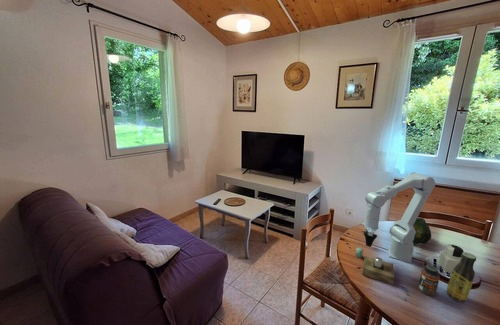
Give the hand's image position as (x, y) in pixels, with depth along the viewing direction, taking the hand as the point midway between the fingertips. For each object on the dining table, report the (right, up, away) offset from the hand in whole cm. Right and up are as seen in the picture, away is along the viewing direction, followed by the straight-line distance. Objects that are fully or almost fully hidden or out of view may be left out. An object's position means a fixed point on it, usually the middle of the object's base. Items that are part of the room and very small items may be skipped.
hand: (368, 242), depth 110 cm
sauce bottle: (+25, -15, -20) cm, 35 cm away
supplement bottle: (+15, -15, -17) cm, 27 cm away
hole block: (0, -12, -7) cm, 14 cm away
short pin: (-3, -9, +5) cm, 11 cm away
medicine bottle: (+36, -12, -4) cm, 38 cm away
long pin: (0, -12, -7) cm, 14 cm away
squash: (+36, -6, +19) cm, 41 cm away
